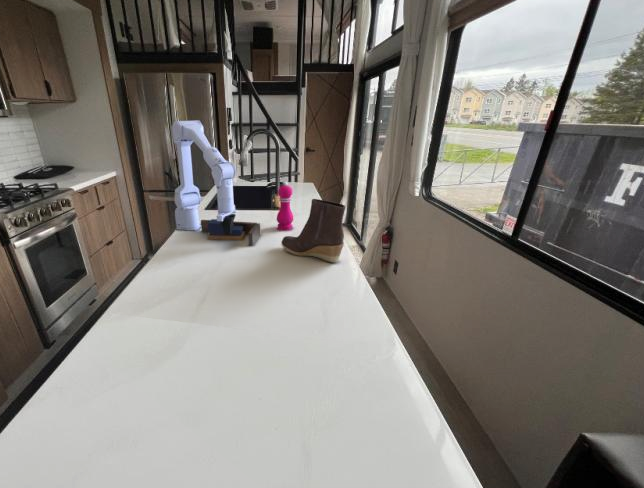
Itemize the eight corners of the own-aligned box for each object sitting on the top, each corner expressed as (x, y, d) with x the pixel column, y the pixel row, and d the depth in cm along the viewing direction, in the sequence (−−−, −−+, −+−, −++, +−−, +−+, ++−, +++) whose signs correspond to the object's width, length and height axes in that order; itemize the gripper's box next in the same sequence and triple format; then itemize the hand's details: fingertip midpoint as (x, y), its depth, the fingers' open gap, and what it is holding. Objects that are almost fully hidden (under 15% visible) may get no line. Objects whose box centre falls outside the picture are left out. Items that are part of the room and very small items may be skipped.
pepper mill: (274, 230, 138) (274, 183, 129) (279, 225, 144) (279, 179, 136) (291, 231, 136) (291, 183, 127) (295, 226, 142) (295, 180, 134)
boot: (289, 243, 124) (290, 191, 116) (347, 258, 111) (353, 200, 102) (276, 250, 118) (276, 195, 109) (336, 267, 105) (341, 206, 96)
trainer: (208, 239, 130) (206, 223, 127) (212, 233, 135) (210, 218, 132) (242, 239, 128) (241, 224, 125) (245, 234, 134) (244, 219, 131)
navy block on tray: (190, 241, 128) (188, 229, 125) (203, 230, 139) (202, 219, 137) (252, 245, 123) (252, 233, 120) (260, 234, 134) (260, 222, 132)
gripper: (229, 203, 109) (232, 241, 114) (242, 193, 121) (243, 228, 127) (209, 202, 110) (213, 240, 116) (224, 193, 123) (226, 227, 129)
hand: (227, 234), depth 122 cm, fingers closed
